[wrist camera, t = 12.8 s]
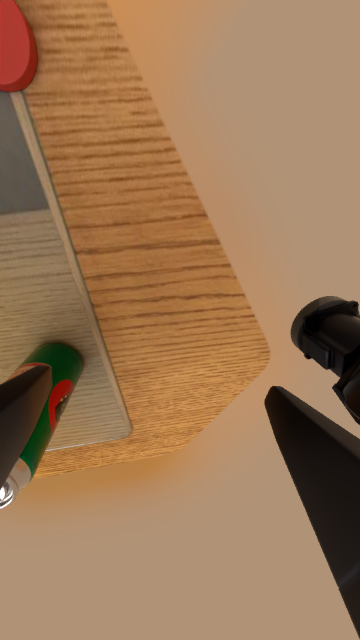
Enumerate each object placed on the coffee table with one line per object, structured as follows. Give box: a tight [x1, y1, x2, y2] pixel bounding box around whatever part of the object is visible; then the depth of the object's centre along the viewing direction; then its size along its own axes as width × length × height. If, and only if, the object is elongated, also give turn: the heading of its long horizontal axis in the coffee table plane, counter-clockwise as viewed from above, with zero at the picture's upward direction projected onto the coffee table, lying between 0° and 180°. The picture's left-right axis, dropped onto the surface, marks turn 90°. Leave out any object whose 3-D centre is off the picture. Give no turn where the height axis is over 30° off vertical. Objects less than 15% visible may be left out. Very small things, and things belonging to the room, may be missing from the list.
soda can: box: [0, 343, 83, 509], centre depth 17 cm, size 5×5×12 cm
